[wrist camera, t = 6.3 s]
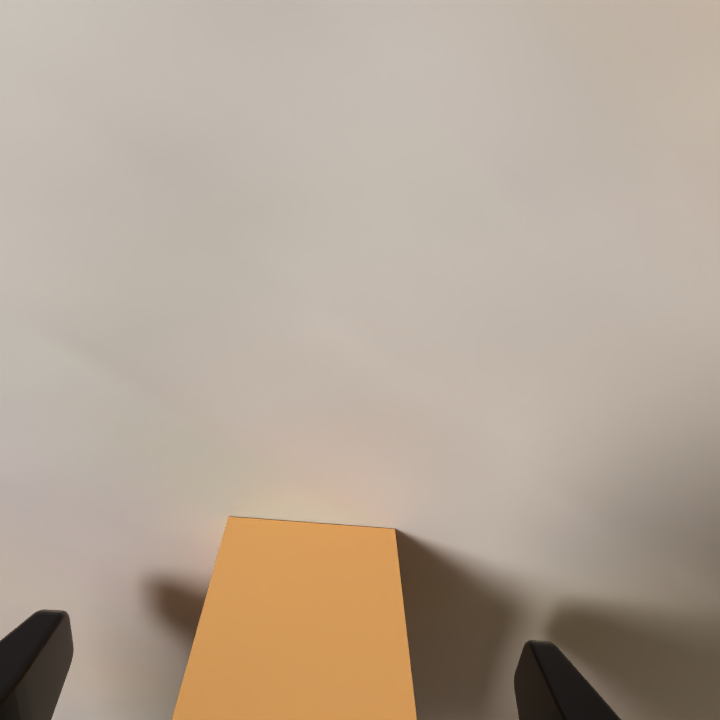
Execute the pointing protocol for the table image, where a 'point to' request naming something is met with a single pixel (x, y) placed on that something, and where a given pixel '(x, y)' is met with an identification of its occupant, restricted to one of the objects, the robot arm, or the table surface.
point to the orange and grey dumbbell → (301, 627)
